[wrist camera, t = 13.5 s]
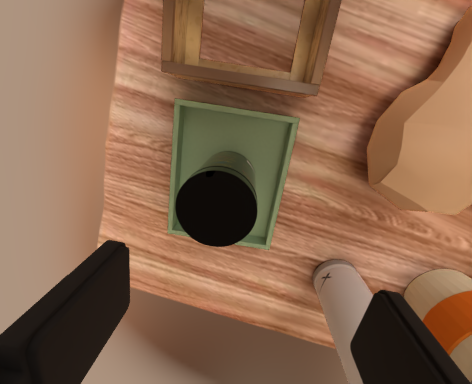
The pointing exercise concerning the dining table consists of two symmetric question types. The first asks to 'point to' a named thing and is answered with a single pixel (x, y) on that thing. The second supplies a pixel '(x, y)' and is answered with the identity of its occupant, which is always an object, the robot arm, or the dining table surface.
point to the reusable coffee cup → (446, 312)
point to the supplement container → (219, 200)
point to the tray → (237, 140)
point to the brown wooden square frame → (288, 83)
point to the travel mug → (342, 307)
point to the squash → (429, 136)
